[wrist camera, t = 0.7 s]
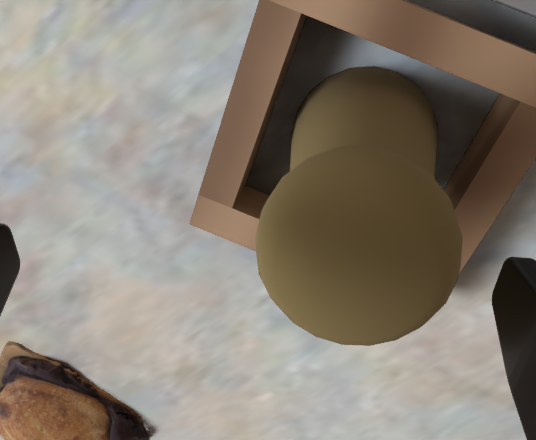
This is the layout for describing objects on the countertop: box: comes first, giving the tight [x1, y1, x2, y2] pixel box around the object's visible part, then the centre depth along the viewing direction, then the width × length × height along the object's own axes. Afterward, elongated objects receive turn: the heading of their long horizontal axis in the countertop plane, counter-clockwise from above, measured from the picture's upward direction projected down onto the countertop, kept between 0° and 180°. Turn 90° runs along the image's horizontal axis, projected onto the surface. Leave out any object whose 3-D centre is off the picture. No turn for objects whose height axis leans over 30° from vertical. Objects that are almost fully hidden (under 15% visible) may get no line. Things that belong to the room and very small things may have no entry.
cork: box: [255, 67, 463, 346], centre depth 16 cm, size 6×6×11 cm
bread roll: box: [0, 341, 148, 440], centre depth 32 cm, size 11×8×4 cm
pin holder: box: [190, 0, 536, 273], centre depth 20 cm, size 11×11×2 cm
